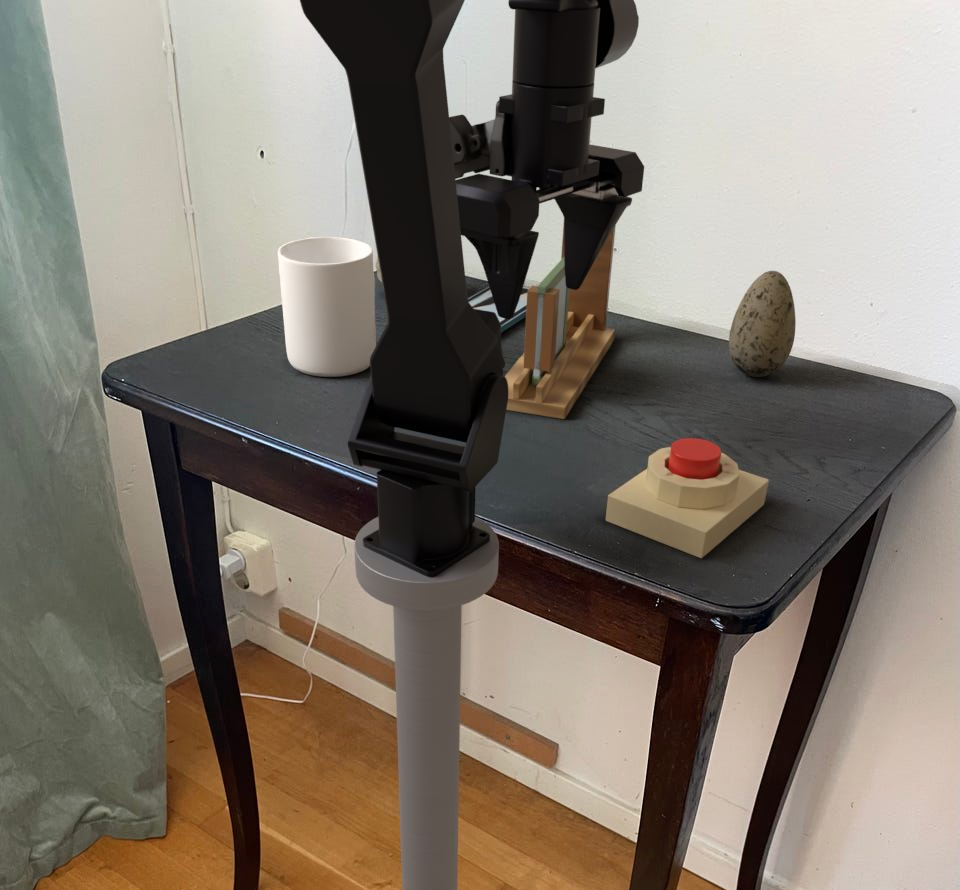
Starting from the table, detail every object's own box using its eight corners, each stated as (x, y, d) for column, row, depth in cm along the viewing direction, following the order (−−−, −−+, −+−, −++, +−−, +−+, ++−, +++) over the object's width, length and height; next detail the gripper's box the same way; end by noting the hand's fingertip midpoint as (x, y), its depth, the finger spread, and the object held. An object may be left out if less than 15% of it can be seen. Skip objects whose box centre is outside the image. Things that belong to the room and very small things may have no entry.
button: (702, 487, 73) (706, 465, 72) (658, 471, 74) (661, 449, 73) (726, 469, 75) (730, 447, 74) (683, 454, 77) (686, 433, 76)
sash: (549, 388, 92) (555, 288, 86) (522, 383, 92) (527, 284, 87) (573, 352, 99) (581, 258, 93) (548, 349, 99) (554, 255, 94)
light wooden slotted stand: (564, 419, 90) (575, 271, 82) (488, 407, 91) (493, 261, 84) (614, 340, 106) (627, 209, 98) (549, 331, 107) (557, 202, 100)
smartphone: (426, 321, 107) (498, 280, 117) (426, 330, 107) (498, 288, 118) (487, 335, 104) (555, 292, 114) (487, 344, 104) (555, 300, 115)
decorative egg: (730, 386, 96) (748, 281, 91) (717, 362, 101) (734, 261, 96) (793, 387, 97) (815, 282, 91) (777, 363, 101) (797, 262, 96)
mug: (412, 345, 103) (410, 237, 97) (342, 386, 94) (336, 270, 88) (342, 329, 107) (336, 223, 100) (269, 367, 98) (257, 253, 92)
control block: (701, 559, 72) (710, 509, 69) (604, 521, 76) (610, 472, 73) (764, 505, 78) (774, 458, 76) (672, 472, 82) (679, 427, 80)
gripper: (535, 57, 81) (525, 256, 90) (376, 82, 69) (383, 309, 78) (658, 73, 76) (634, 283, 85) (510, 103, 63) (500, 345, 72)
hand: (540, 302), depth 80 cm, fingers open, 9 cm apart
